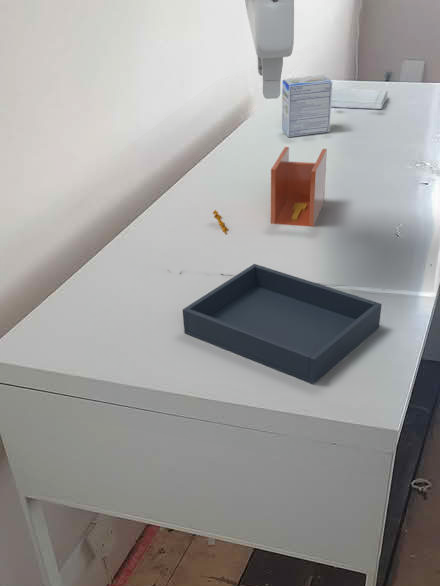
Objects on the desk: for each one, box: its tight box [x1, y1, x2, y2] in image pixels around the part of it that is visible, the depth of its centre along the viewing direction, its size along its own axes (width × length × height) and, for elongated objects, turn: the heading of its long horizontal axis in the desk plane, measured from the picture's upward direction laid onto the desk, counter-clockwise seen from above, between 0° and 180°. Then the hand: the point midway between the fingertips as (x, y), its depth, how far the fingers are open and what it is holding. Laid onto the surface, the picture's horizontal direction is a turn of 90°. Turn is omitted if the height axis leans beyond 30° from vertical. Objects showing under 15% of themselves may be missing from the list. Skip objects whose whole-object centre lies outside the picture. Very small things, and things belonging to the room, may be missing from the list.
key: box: [291, 203, 307, 220], centre depth 102 cm, size 5×2×1 cm, turn 164°
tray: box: [182, 263, 382, 385], centre depth 79 cm, size 17×13×3 cm
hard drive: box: [331, 87, 389, 110], centre depth 143 cm, size 2×8×12 cm
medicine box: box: [281, 74, 333, 138], centre depth 128 cm, size 8×4×9 cm, turn 102°
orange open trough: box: [270, 146, 328, 228], centre depth 100 cm, size 9×6×8 cm, turn 164°
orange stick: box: [212, 209, 229, 235], centre depth 101 cm, size 8×1×1 cm, turn 12°
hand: (268, 85), depth 80 cm, fingers open, 8 cm apart
